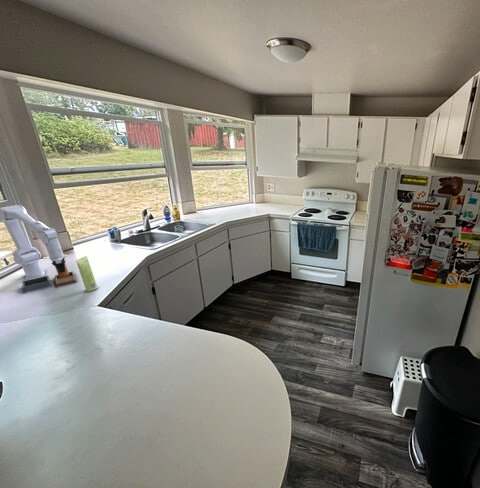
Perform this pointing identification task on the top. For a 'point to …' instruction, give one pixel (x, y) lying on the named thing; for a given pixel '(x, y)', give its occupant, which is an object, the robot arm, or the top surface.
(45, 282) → the bin
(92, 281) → the tube
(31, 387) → the top surface
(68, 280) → the tray
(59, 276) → the bottle
